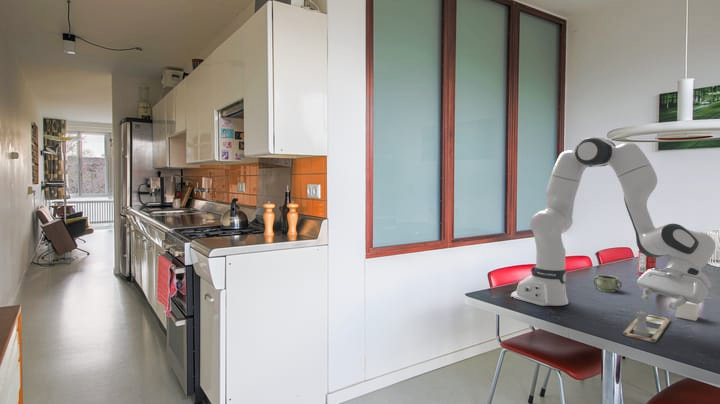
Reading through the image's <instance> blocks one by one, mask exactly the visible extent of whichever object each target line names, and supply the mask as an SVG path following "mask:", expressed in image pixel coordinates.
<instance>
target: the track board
mask: <svg viewBox="0 0 720 404" xmlns="http://www.w3.org/2000/svg"><path fill="white" fill-rule="evenodd" d="M646 319H647V321H646V323H650V324H654V325H659V327H658V328H653V327H649V326H647V328H648V331H649V335H652V337H644V336H639V335H635V334H634V333H631V332H632V331H634V328H636V325H637V320H638V319H637V317H636V318H635V319H634V320H633V322H631V323H630V324H629V325H628V326H627V328H625V330H623V331H622V336H626V337H629V338H635V339H639V340H643V341H646V342H650V343H656V342H657V341H658V340H659V338H660V336H661V335H662V334H663V332H664V331H665V329H666V328H667V327H668V325H669V324H670V323H671V318H668V317H667V318H666V317H662V316H658V315H651V314H648V316H647V317H646Z"/></svg>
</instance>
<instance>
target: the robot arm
mask: <svg viewBox="0 0 720 404" xmlns="http://www.w3.org/2000/svg"><path fill="white" fill-rule="evenodd" d="M606 166H609V167H611V168H612V170H613V171H614V173H615V175H616V177H617V179H618V181H619V184H620V186H621V189H622V192H623V201H624V204H625V207H626V210H627V213H628V215H629V218H630V221H631V223H632V227H633V229H634V233H635V239H636V245H637V246H636V247H637V248H638V249H639V250H640V251H641V252H642V253H643V254H644V255H646V256H648V257H652V258H656V259H657V258H661V257H663V256H666V255H669V256H670V260H669V261H668V262H667V264H666V265H665V266H664V268H658V267H656V268H652V269H648V270H647V271H646V272H645V273H644V274H643V275H640V276H639V278H638V279H637V280H636V285H637V286H638V287H639V288H640V290H642V294H643V295H641V297H640V298H641V300H642V301H644V302H649V301H650V299H651V297H649V295H650V294H651V293H653V294H658V295H662V296H665V297H669V298H673V299H676V300H675V301H674V302H673V301H671V302H670V303H669V304H668V307H669V309H671V310H674V311H676V309H677V308H678V306H681V305H683V304H685V303H686V302H690V303H694V304H699V305H700V304H701V303H703V302H704V300H705V299H706V297H707V295H708V293H709V289H710V288H711V287H712V283H711V281H710V280H709V278H708V276H707V275H706V274H705V273H704V272H703V271H702V269H703V268H704V267H705V266H706V265H708V263H709V261H710V260H711V258H712V257H713V255H714V253H715V250H716V241H715V240H714V239H713V238H712V237H711V236H710V235H709V234H707V233H706V232H702V231H693V230H690V229H687V228H686V227H684V226H682V225H681V224H678V223H668V224H665V225H661V226H659V227H655V226H654V224H653V223H654V222H653V219H652V218H651V215H650V212H649V210H648V206H647V205H648V200H649V198H650V196H651V194H652V193H653V192H654V190H655V189H656V187H657V184H658V177H657V173H656V170H655V169H654V167H653V166H652V164H651V162H650V160H649V158H648V157H647V155H646V154H645V152H643V150H642V149H641V148H640V147H639V146H638V145H637V144H636V143H634V142H625V143H621V144H619V145H618V144H617V145H616V144H615V143H614V142H613V141H611V140H609V139H607V138H603V137H593V136H592V137H587V138H584V139H581V140H580V141H579V142H578V143H577V144H576V146H575V148H574V150H565V151H562V152H561V153H560V154H559V155H558V158H556V162H555V163H554V165H553V168H552V171H551V175H550V177H549V181H548V184H547V188H546V190H545V195H546V205H545V209H544V210H543V209H542V210H539V211H537V212H536V213H534V215H532V216H531V218H530V220H529V227H530V230H531V231H532V233H533V237H534V241H535V242H534V243H535V247H536V248H535V249H536V261H535V263H536V264H535V265H534V266H533V267H531V268H530V270H529V271H530V272H531V274H530V275H528V276H527V277H525V278H523V279H522V280H520V281H519V282H518V283H517V287H516V290H515V291H513V292H511V294H510V297H511V298H512V297H513V299H516V300H520V301H524V302H528V303H531V304H533V305H534V304H535V305H538V306H542V307H545V306H547V307H548V306H566V305H568V304H569V299H568V297H567V291H566V289H567V288H566V283H567V269H566V249H565V246H564V242H563V237H562V235H563V234H565V233H566V232H568V231H569V229H570V228H571V227H572V225H573V222H574V221H573V215H574V214H573V213H574V204H575V199H576V195H577V192H578V189H579V186H580V184H581V180H582V176H583V173H584V171H585V170H586V169H587V168H594V167H595V168H599V167H600V168H601V167H606ZM639 250H638V251H639ZM678 299H679V300H678Z"/></svg>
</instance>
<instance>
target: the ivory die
mask: <svg viewBox="0 0 720 404" xmlns="http://www.w3.org/2000/svg"><path fill="white" fill-rule="evenodd" d="M677 300H679V299H677ZM699 305H700V303H699V304H694V303H690V302H686V303H685V304H683V305H681V306H678V308H677V309H676V310H675V318H678V319H679V318H680V319H683V320H684V319H685V320H689V321H695V322H697V320H698V319H699Z"/></svg>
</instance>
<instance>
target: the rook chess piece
mask: <svg viewBox="0 0 720 404" xmlns="http://www.w3.org/2000/svg"><path fill="white" fill-rule="evenodd" d="M635 313H636V316H637V317H636V318H637V319H638V320H637V325H636V328H634V330H633V333H632V334H635V335H639V336H644V337H648V338H650V334H649V331H648V328H647V327H648V326H647V322H646V321H647V319H646V317H647V316H648V315H649V314H648V312H647V311H645V310H637V312H635Z"/></svg>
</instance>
